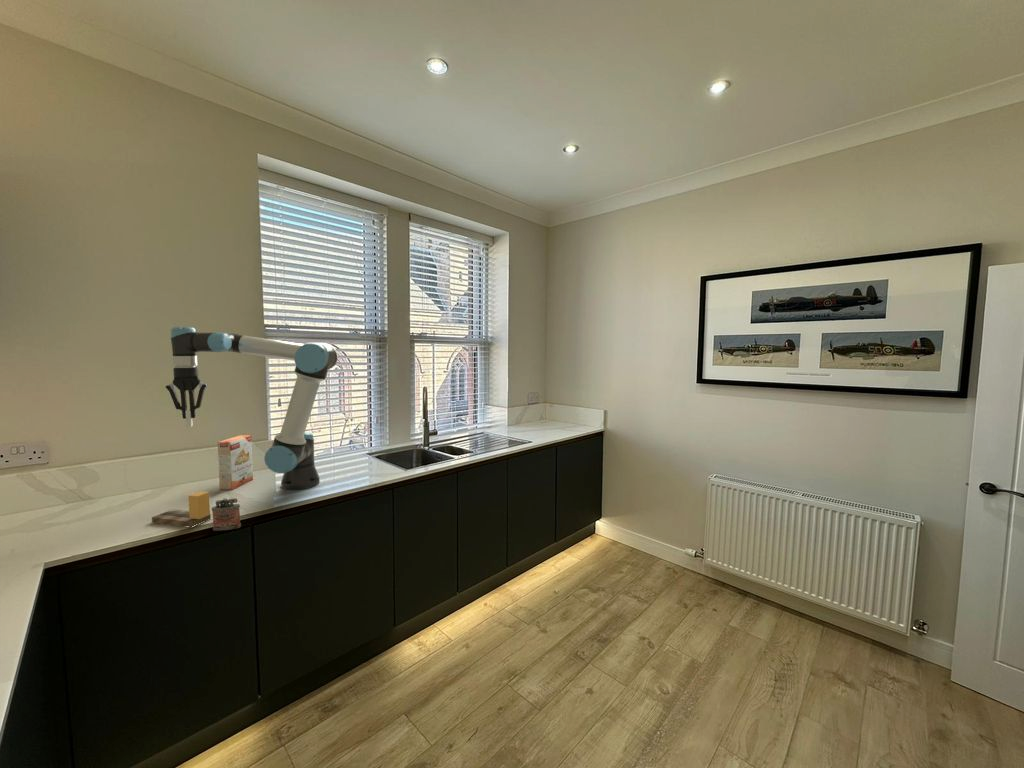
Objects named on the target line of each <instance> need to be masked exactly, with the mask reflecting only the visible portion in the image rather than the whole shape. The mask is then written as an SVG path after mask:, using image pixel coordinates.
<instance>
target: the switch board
mask: <svg viewBox="0 0 1024 768" xmlns="http://www.w3.org/2000/svg"><path fill="white" fill-rule="evenodd" d="M211 515H212V514H211V513H210V515H208V516H206V517H203V518H201V519H193V518H190V515H189V510H182V509H170V510H167V511H165V512H162V513H159V514H156V515H154V516H152V517H151V522H154V523H153V524H159V523H162V524H161V525H166V524H171V525H170V526H174V525H180V526H179V527H182V526H189V527H188V528H190V527H192V526H194V525H196V524H199V523H201V522H203V521H206V520H208V519H210V518H211ZM211 519H212V518H211ZM211 519H210V520H211ZM208 521H209V520H208ZM206 522H207V521H206ZM203 523H204V522H203ZM201 524H202V523H201ZM199 525H200V524H199ZM196 526H197V525H196ZM194 527H195V526H194ZM192 528H193V527H192Z"/></svg>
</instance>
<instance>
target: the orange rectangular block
mask: <svg viewBox="0 0 1024 768" xmlns="http://www.w3.org/2000/svg"><path fill="white" fill-rule="evenodd" d="M187 496H188V497H187V500H188V511H189V515H190V518H193V519H201V518H203V517H206V516H208V515H210V514H211V509H210V508H211V507H210V505H211V504H210V493H209V492H207V491H197V492H193V493H190V494H189V495H187Z"/></svg>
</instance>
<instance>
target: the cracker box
mask: <svg viewBox="0 0 1024 768" xmlns="http://www.w3.org/2000/svg"><path fill="white" fill-rule="evenodd" d="M252 445H253V443H252V435H248V434H246V435H243V434H242V435H237V436H233V437H230V438H227V439H224V440H221V441H217V455H218V456H217V457H218V476H219V477H218V478H219V490H228V491H229V490H234V489H237V488H239V487H240V486H242V485H245V484H247V483H248V482H251V481H253V480H254V474H253V473H254V470H253V446H252Z"/></svg>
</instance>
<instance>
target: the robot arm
mask: <svg viewBox="0 0 1024 768" xmlns="http://www.w3.org/2000/svg"><path fill="white" fill-rule="evenodd" d="M170 334H171V335H170V342H171V350H172V352H171V353H172V366H173V367H174V368H173V369H172V370H173V379H172V383H169V384H167V385H165V389H166V390H167V391H168V392H169V394H170V396H171V399H172V402H173V405H174V407H175V409H176V410H180V411H181V415H182V419H185V424H186V428H192V427H193V426H194V423H193V419H195V418H196V410H197V409H200V408H201V406H202V401H203V397H204V394H205V390H206V388H207V387H208V384H207V383H203V382H202V381H201V380H200V378H199V368H198V367H197V366H198V365H199V364H198V353H199V352H200V353H201V352H204V353H205V352H206V353H209V352H210V353H224V352H225V353H226V352H228V353H229V352H230V353H231V352H232V353H237V354H238V353H239V354H247V355H254V356H260V357H267V358H272V359H273V358H274V359H282V360H286V361H287V360H288V361H294V364H295V367H294V372H293V373H294V374H295V375H296V379H295V383H294V386H293V390H292V392H291V396H290V400H289V402H288V403H289V404H288V406H287V410H286V413H285V416H284V419H283V423H282V427H281V430H280V432H278V433H277V434H275V435H274V439H273V442H272V445H271V447H270V448H268V449H267V451H266V452H265V454H264V464H265V465H266V467H267V468H268V469H269V470H270V471H271V472H273V473H276V474H283V475H282V477H281V482H280V485H281V486H280V487H281V489H284V490H291V491H294V490H305V489H309V488H312V487H314V486H317V485H318V484H320V475H319V472H318V470H317V468H316V466H315V439H314V435H313V433H311V432H306V431H307V427H308V423H309V421H310V417H311V413H312V410H313V408H314V407H313V406H314V403H315V401H316V397H317V393H318V391H319V386H320V384H321V382H322V381H325V380H326V377H327V375H328V371H329V370H330V369H332V368H333V367H334V366H335V365H336V364H337V362H338V360H339V359H338V357H339V355H338V352H337V350H336V348H335V347H334V346H333V345H332V344H329V343H327V342H316V341H315V342H306V343H297V342H291V341H290V342H289V341H284V340H277V339H270V338H262V337H257V336H256V337H255V336H251V335H250V336H249V335H242V334H238V333H226V332H221V331H220V332H218V331H216V332H197V331H196V329H195V327H187V326H184V327H183V326H174V327H172V328H171V329H170ZM197 387H198V388H199V390H198V395H197V399H196V400H195V398H196V397H195V390H196V388H197ZM176 388H177V389H178V390H179V392H180V400H179V397H178V395H177V392H176V390H175V389H176ZM187 391H188V399H189V401H187ZM187 402H189V409H188V404H187Z"/></svg>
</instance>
